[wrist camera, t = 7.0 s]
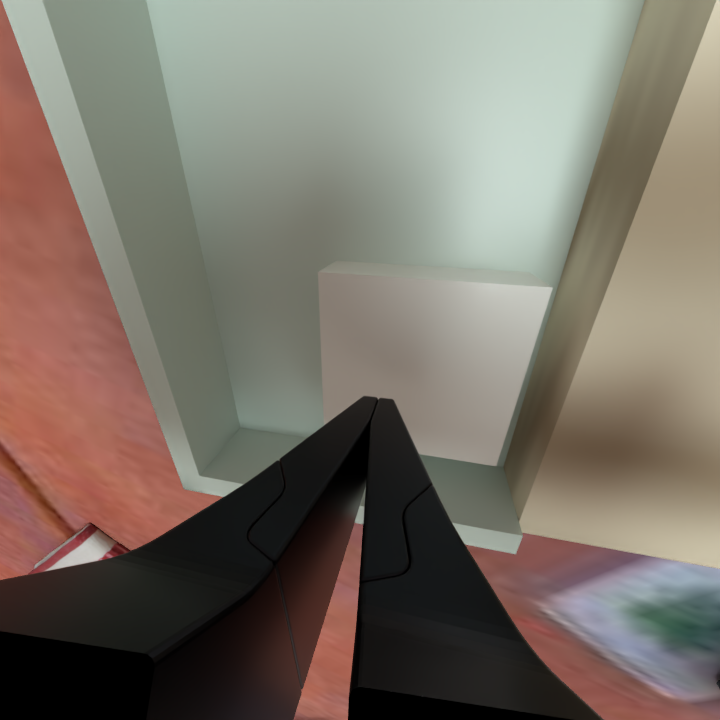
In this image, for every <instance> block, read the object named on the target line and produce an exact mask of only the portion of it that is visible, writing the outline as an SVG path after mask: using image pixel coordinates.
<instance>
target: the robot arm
mask: <svg viewBox="0 0 720 720" xmlns="http://www.w3.org/2000/svg"><path fill="white" fill-rule="evenodd" d="M365 487H366V491H365V506H364V521H363V536H362V551H361V566H360V581H359V596H358V610H357V622H356V633H355V643H354V653H353V663H352V673H351V682H350V692H349V709H348V720H604V719H602V718H601V717H600V716H599V715H598V714H597V713H596V712H595V711H594V710H593V709H592V708H591V707H589V706H588V705H587V704H586V703H585V702H584V701H583V700H582V699H581V698H580V697H579V696H578V695H577V694H575V693H574V692H573V691H572V690H571V689H570V688H569V687H568V686H567V685H566V684H565V683H564V682H562V681H561V680H560V679H559V678H558V677H557V676H556V675H555V674H554V673H553V672H552V671H551V670H550V669H549V668H548V667H547V665H546V664H545V663H544V662H543V661H542V660H541V659H540V658H539V656H538V655H537V654H536V653H535V652H534V650H533V649H532V648H531V647H530V645H529V644H528V643H527V641H526V640H525V639H524V637H523V636H522V634H521V633H520V632H519V630H518V629H517V627H516V626H515V624H514V622H513V621H512V619H511V618H510V616H509V615H508V613H507V611H506V610H505V608H504V607H503V605H502V603H501V602H500V600H499V599H498V597H497V595H496V594H495V592H494V591H493V589H492V587H491V586H490V584H489V583H488V581H487V579H486V578H485V576H484V575H483V573H482V571H481V570H480V568H479V567H478V565H477V563H476V562H475V560H474V559H473V557H472V555H471V554H470V552H469V551H468V549H467V547H466V546H465V544H464V542H463V541H462V539H461V537H460V535H459V534H458V532H457V530H456V529H455V527H454V525H453V524H452V522H451V520H450V518H449V516H448V514H447V512H446V510H445V508H444V506H443V504H442V502H441V500H440V498H439V496H438V494H437V491H436V489H435V487H434V486H433V483H432V481H431V479H430V477H429V475H428V472H427V470H426V468H425V466H424V464H423V462H422V459H421V457H420V455H419V453H418V451H417V449H416V446H415V444H414V442H413V440H412V438H411V436H410V433H409V431H408V429H407V427H406V425H405V423H404V421H403V418H402V416H401V414H400V412H399V410H398V408H397V405H396V403H395V401H394V400H393V399H389V398H379V399H378V398H377V397H372V396H363V397H361V398H360V399H359V400H357V401H356V402H355V403H353V404H352V405H350V406H349V407H348V408H346V409H345V410H344V411H342V412H341V413H340V414H338V415H337V416H336V417H334V418H333V419H332V420H330V421H329V422H328V423H326V424H325V425H324V426H322V427H321V428H320V429H318V430H317V431H316V432H314V433H313V434H312V435H310V436H309V437H308V438H306V439H305V440H304V441H302V442H301V443H300V444H298V445H297V446H296V447H294V448H293V449H292V450H290V451H289V452H288V453H286V454H285V455H284V456H282V457H281V458H280V459H279V460H277V461H275V462H274V463H273V464H271V465H270V466H269V467H267V468H266V469H265V470H263V471H262V472H260V473H259V474H258V475H256V476H255V477H253V478H252V479H250V480H249V481H248V482H246V483H245V484H243V485H242V486H240V487H239V488H237V489H235V490H234V491H232V492H231V493H229V494H228V495H226V496H225V497H223V498H221V499H220V500H218V501H217V502H215V503H213V504H212V505H210V506H208V507H207V508H205V509H204V510H202V511H200V512H199V513H197V514H195V515H194V516H192V517H191V518H189V519H187V520H186V521H184V522H182V523H181V524H179V525H178V526H176V527H174V528H173V529H171V530H169V531H168V532H166V533H165V534H163V535H161V536H160V537H158V538H156V539H154V540H153V541H151V542H149V543H147V544H145V545H143V546H141V547H139V548H137V549H134V550H132V551H129V552H127V553H124V554H121V555H118V556H115V557H111V558H107V559H103V560H99V561H94V562H89V563H84V564H78V565H73V566H68V567H63V568H58V569H53V570H48V571H43V572H38V573H33V574H28V575H23V576H18V577H13V578H8V579H3V580H0V720H293V719H294V716H295V712H296V709H297V706H298V703H299V700H300V696H301V693H302V692H301V689H303V686H304V683H305V680H306V677H307V674H308V670H309V667H310V664H311V661H312V657H313V654H314V651H315V648H316V645H317V641H318V638H319V635H320V632H321V629H322V625H323V622H324V619H325V616H326V612H327V609H328V606H329V603H330V600H331V596H332V593H333V590H334V587H335V584H336V580H337V577H338V574H339V571H340V567H341V564H342V561H343V558H344V555H345V551H346V548H347V545H348V542H349V539H350V535H351V532H352V529H353V526H354V522H355V519H356V516H357V513H358V510H359V506H360V503H361V500H362V497H363V493H364V490H365ZM717 685H718V687H719V688H720V680H719V681H718V682H717Z"/></svg>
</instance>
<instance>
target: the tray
mask: <svg viewBox="0 0 720 720" xmlns="http://www.w3.org/2000/svg"><path fill="white" fill-rule="evenodd" d="M644 1H645V0H2V2H3V5H4V8H5V10H6V13H7V16H8V18H9V21H10V24H11V26H12V29H13V32H14V35H15V37H16V40H17V43H18V45H19V48H20V51H21V53H22V56H23V59H24V61H25V64H26V67H27V69H28V72H29V75H30V77H31V80H32V83H33V86H34V88H35V91H36V94H37V96H38V99H39V102H40V104H41V107H42V110H43V112H44V115H45V118H46V120H47V123H48V126H49V128H50V131H51V134H52V137H53V139H54V142H55V145H56V147H57V150H58V153H59V155H60V158H61V161H62V163H63V166H64V169H65V171H66V174H67V177H68V179H69V182H70V185H71V187H72V190H73V193H74V196H75V198H76V201H77V204H78V206H79V209H80V212H81V214H82V217H83V220H84V222H85V225H86V228H87V230H88V233H89V236H90V238H91V241H92V244H93V247H94V249H95V252H96V255H97V257H98V260H99V263H100V265H101V268H102V271H103V273H104V276H105V279H106V281H107V284H108V287H109V289H110V292H111V295H112V298H113V300H114V303H115V306H116V308H117V311H118V314H119V316H120V319H121V322H122V324H123V327H124V330H125V332H126V335H127V338H128V340H129V343H130V346H131V349H132V351H133V354H134V357H135V359H136V362H137V365H138V367H139V370H140V373H141V375H142V378H143V381H144V383H145V386H146V389H147V391H148V394H149V397H150V400H151V402H152V405H153V408H154V410H155V413H156V416H157V418H158V421H159V424H160V426H161V429H162V432H163V434H164V437H165V440H166V442H167V445H168V448H169V450H170V453H171V456H172V459H173V461H174V464H175V467H176V469H177V472H178V475H179V477H180V480H181V483H182V485H183V488H184V489H186V490H191V491H196V492H201V493H206V494H211V495H217V496H222V497H225V496H226V495H228V494H229V493H231V492H232V491H234V490H235V489H237V488H239V487H240V486H242V485H243V484H245V483H246V482H248V481H249V480H250V479H252V478H253V477H255V476H256V475H258V474H259V473H260V472H262V471H263V470H265V469H266V468H267V467H269V466H270V465H271V464H273V463H274V462H275V461H277V460H279V459H280V458H281V457H282V456H284V455H285V454H286V453H288V452H289V451H290V450H292V449H293V448H294V447H296V446H297V445H298V444H300V443H301V442H302V441H304V440H305V439H306V438H308V437H309V436H310V435H312V434H313V433H314V432H316V431H317V430H318V429H320V428H321V427H322V426H324V415H323V389H322V364H321V338H320V312H319V287H318V272H319V271H320V270H322V269H324V268H326V267H327V266H329V265H331V264H332V263H334V262H336V261H350V262H367V263H384V264H401V265H418V266H434V267H451V268H468V269H485V270H502V271H519V272H530V273H531V274H533V275H534V276H536V277H537V278H539V279H541V280H542V281H544V282H545V283H547V284H548V285H550V286H551V287H553V289H552V292H551V295H550V298H549V301H548V305H547V308H546V311H545V314H544V317H543V320H542V324H541V327H540V330H539V333H538V336H537V339H536V342H535V346H534V349H533V352H532V355H531V358H530V361H529V365H528V368H527V371H526V374H525V377H524V380H523V384H522V387H521V390H520V393H519V396H518V399H517V402H516V406H515V409H514V412H513V415H512V418H511V421H510V425H509V428H508V431H507V434H506V437H505V440H504V443H503V447H502V450H501V453H500V456H499V459H498V462H497V466H490V465H484V464H478V463H472V462H466V461H460V460H453V459H447V458H441V457H435V456H429V455H423V454H419V455H420V457H421V459H422V462H423V464H424V466H425V468H426V470H427V472H428V475H429V477H430V479H431V481H432V483H433V486H434V487H435V489H436V491H437V494H438V496H439V498H440V500H441V502H442V504H443V506H444V508H445V510H446V512H447V514H448V516H449V518H450V520H451V522H452V524H453V525H454V527H455V529H456V530H457V532H458V534H459V535H460V537H461V539H462V541H463V542H464V544H466V545H471V546H476V547H481V548H487V549H492V550H497V551H502V552H507V553H512V554H516V552H517V550H518V547H519V545H520V542H521V540H522V537H523V534H522V531H521V527H520V524H519V520H518V517H517V513H516V510H515V506H514V503H513V499H512V496H511V492H510V489H509V485H508V482H507V478H506V475H505V471H504V468H503V467H504V463H505V460H506V457H507V453H508V450H509V447H510V443H511V440H512V437H513V434H514V430H515V427H516V424H517V420H518V417H519V414H520V410H521V407H522V404H523V401H524V397H525V394H526V391H527V387H528V384H529V381H530V377H531V374H532V371H533V368H534V364H535V361H536V358H537V354H538V351H539V348H540V344H541V341H542V338H543V335H544V331H545V328H546V325H547V321H548V318H549V315H550V311H551V308H552V305H553V302H554V298H555V295H556V292H557V288H558V285H559V282H560V278H561V275H562V272H563V269H564V265H565V262H566V259H567V255H568V252H569V249H570V245H571V242H572V239H573V236H574V232H575V229H576V226H577V222H578V219H579V216H580V212H581V209H582V206H583V203H584V199H585V196H586V193H587V189H588V186H589V183H590V179H591V176H592V173H593V170H594V166H595V163H596V160H597V156H598V153H599V150H600V146H601V143H602V140H603V137H604V133H605V130H606V127H607V123H608V120H609V117H610V114H611V110H612V107H613V104H614V100H615V97H616V94H617V90H618V87H619V84H620V81H621V77H622V74H623V71H624V67H625V64H626V61H627V57H628V54H629V51H630V48H631V44H632V41H633V38H634V34H635V31H636V28H637V24H638V21H639V18H640V15H641V11H642V8H643V5H644ZM365 491H366V487H365V490H364V493H363V497H362V500H361V503H360V506H359V510H358V513H357V516H356V519H355V522H354V523H359V524H363V521H364V506H365Z"/></svg>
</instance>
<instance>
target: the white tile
mask: <svg viewBox="0 0 720 720" xmlns="http://www.w3.org/2000/svg"><path fill="white" fill-rule="evenodd" d="M318 287H319V312H320V338H321V364H322V389H323V415H324V425H325V424H326V423H328V422H329V421H330V420H332V419H333V418H334V417H336V416H337V415H338V414H340V413H341V412H342V411H344V410H345V409H346V408H348V407H349V406H350V405H352V404H353V403H355V402H356V401H357V400H359V399H360V398H361V397H363V396H372V397H377V398H378V399H379V398H389V399H393V400H394V401H395V403H396V405H397V408H398V410H399V412H400V414H401V416H402V418H403V421H404V423H405V425H406V427H407V429H408V431H409V433H410V436H411V438H412V440H413V442H414V444H415V446H416V449H417V451H418V453H419V454H423V455H429V456H435V457H441V458H447V459H453V460H460V461H466V462H472V463H478V464H484V465H490V466H497V462H498V459H499V456H500V453H501V450H502V447H503V443H504V440H505V437H506V434H507V431H508V428H509V425H510V421H511V418H512V415H513V412H514V409H515V406H516V402H517V399H518V396H519V393H520V390H521V387H522V384H523V380H524V377H525V374H526V371H527V368H528V365H529V361H530V358H531V355H532V352H533V349H534V346H535V342H536V339H537V336H538V333H539V330H540V327H541V324H542V320H543V317H544V314H545V311H546V308H547V305H548V301H549V298H550V295H551V292H552V289H553V287H551V286H550V285H548V284H547V283H545V282H544V281H542V280H541V279H539V278H537V277H536V276H534V275H533V274H531V273H530V272H519V271H502V270H485V269H468V268H451V267H434V266H418V265H401V264H384V263H367V262H350V261H336V262H334V263H332V264H331V265H329V266H327V267H326V268H324V269H322V270H320V271H319V272H318Z"/></svg>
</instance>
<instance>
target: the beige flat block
mask: <svg viewBox="0 0 720 720" xmlns="http://www.w3.org/2000/svg"><path fill="white" fill-rule="evenodd" d="M503 468H504V471H505V475H506V478H507V482H508V485H509V489H510V492H511V496H512V499H513V503H514V506H515V510H516V513H517V517H518V520H519V524H520V527H521V531H522V533H528V534H533V535H538V536H544V537H549V538H555V539H560V540H566V541H571V542H577V543H582V544H587V545H593V546H598V547H604V548H609V549H615V550H620V551H626V552H631V553H636V554H642V555H647V556H653V557H658V558H664V559H669V560H674V561H680V562H685V563H691V564H696V565H702V566H707V567H713V568H718V569H720V0H645V1H644V5H643V8H642V11H641V15H640V18H639V21H638V24H637V28H636V31H635V34H634V38H633V41H632V44H631V48H630V51H629V54H628V57H627V61H626V64H625V67H624V71H623V74H622V77H621V81H620V84H619V87H618V90H617V94H616V97H615V100H614V104H613V107H612V110H611V114H610V117H609V120H608V123H607V127H606V130H605V133H604V137H603V140H602V143H601V146H600V150H599V153H598V156H597V160H596V163H595V166H594V170H593V173H592V176H591V179H590V183H589V186H588V189H587V193H586V196H585V199H584V203H583V206H582V209H581V212H580V216H579V219H578V222H577V226H576V229H575V232H574V236H573V239H572V242H571V245H570V249H569V252H568V255H567V259H566V262H565V265H564V269H563V272H562V275H561V278H560V282H559V285H558V288H557V292H556V295H555V298H554V302H553V305H552V308H551V311H550V315H549V318H548V321H547V325H546V328H545V331H544V335H543V338H542V341H541V344H540V348H539V351H538V354H537V358H536V361H535V364H534V368H533V371H532V374H531V377H530V381H529V384H528V387H527V391H526V394H525V397H524V401H523V404H522V407H521V410H520V414H519V417H518V420H517V424H516V427H515V430H514V434H513V437H512V440H511V443H510V447H509V450H508V453H507V457H506V460H505V463H504V467H503Z"/></svg>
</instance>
